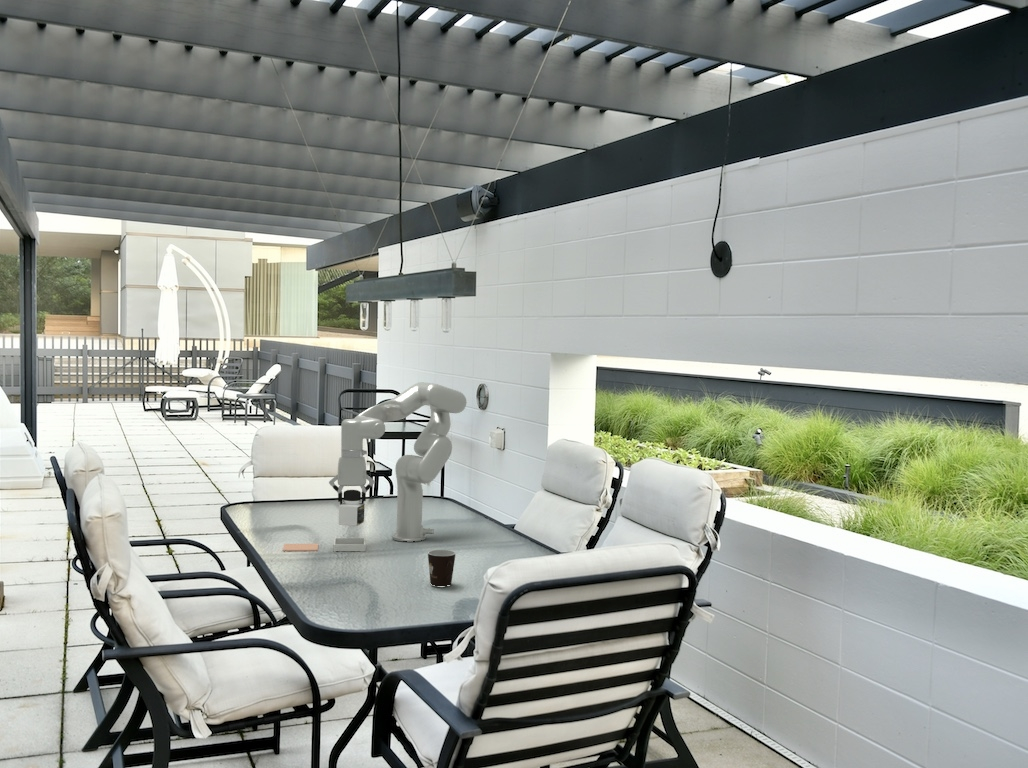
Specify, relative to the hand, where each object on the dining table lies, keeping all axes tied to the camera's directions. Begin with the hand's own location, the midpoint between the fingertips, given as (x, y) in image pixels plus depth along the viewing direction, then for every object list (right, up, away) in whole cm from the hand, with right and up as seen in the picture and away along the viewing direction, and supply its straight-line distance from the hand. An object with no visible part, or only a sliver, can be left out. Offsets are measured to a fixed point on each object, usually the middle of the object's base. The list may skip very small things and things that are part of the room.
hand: (351, 503), depth 335 cm
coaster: (-18, -16, -2) cm, 24 cm away
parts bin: (-1, -16, 0) cm, 16 cm away
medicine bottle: (0, -8, +1) cm, 8 cm away
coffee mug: (+35, -20, -46) cm, 61 cm away
